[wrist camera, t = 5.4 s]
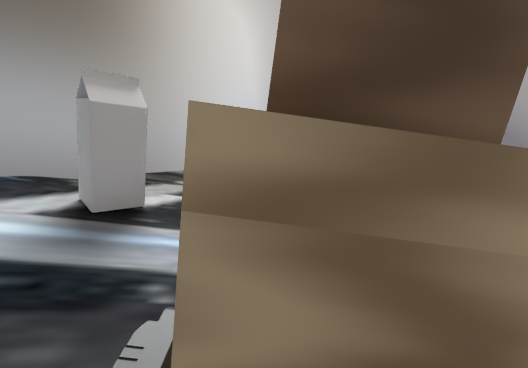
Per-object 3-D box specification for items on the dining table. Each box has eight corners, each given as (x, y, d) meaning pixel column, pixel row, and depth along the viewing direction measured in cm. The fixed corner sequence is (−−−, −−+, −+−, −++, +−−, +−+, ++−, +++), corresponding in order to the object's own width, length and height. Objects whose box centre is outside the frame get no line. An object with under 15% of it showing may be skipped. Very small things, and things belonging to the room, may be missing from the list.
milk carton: (144, 207, 41) (148, 78, 36) (91, 214, 36) (88, 65, 31) (127, 194, 45) (129, 79, 41) (78, 199, 40) (75, 67, 36)
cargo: (255, 199, 5) (290, -66, 4) (259, 164, 9) (277, 30, 8) (471, 228, 5) (558, -23, 4) (379, 180, 9) (411, 50, 8)
